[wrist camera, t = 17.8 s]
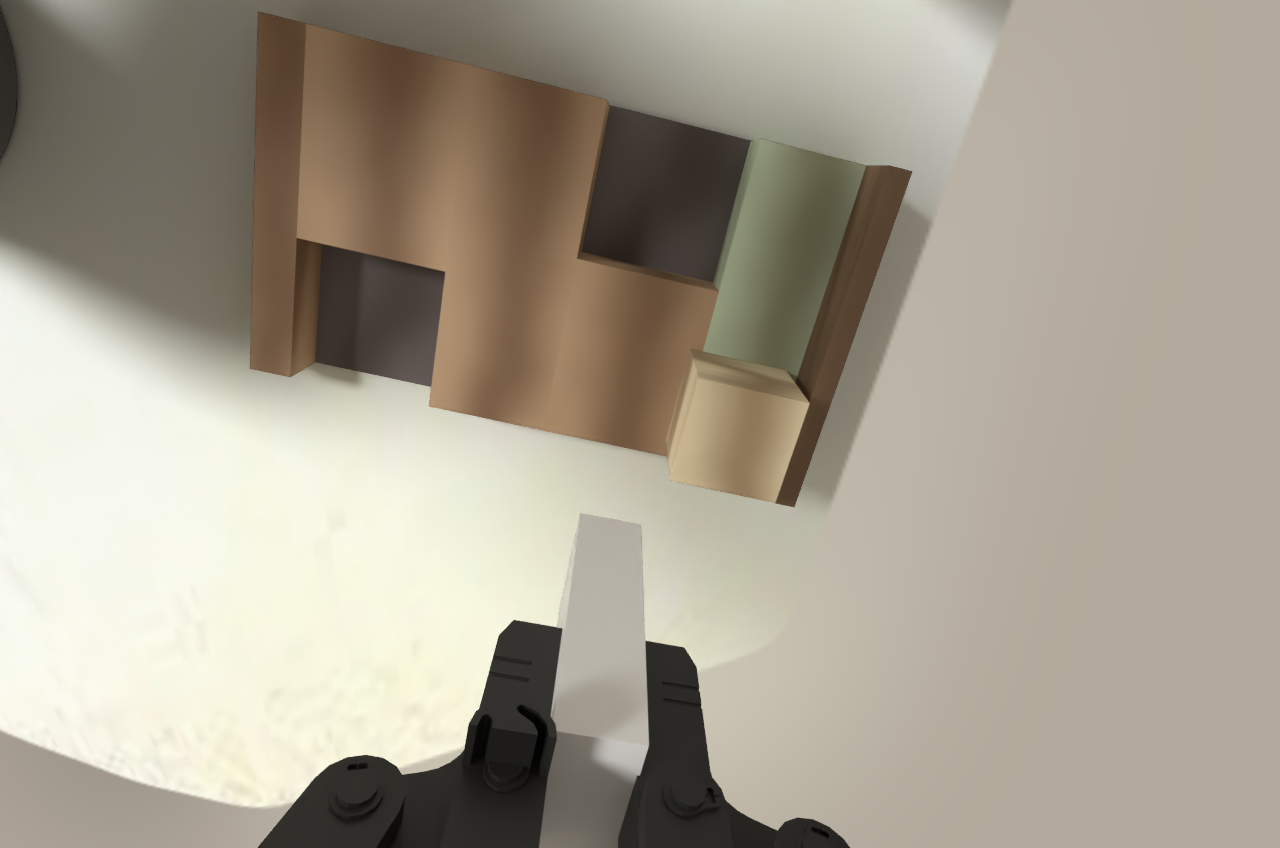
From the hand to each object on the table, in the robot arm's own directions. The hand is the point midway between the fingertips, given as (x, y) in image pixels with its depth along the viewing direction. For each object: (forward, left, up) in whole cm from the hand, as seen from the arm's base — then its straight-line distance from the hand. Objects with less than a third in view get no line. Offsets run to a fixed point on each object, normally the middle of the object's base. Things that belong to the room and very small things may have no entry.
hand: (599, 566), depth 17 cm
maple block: (+6, -1, -18) cm, 19 cm away
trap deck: (-4, +3, -21) cm, 22 cm away
